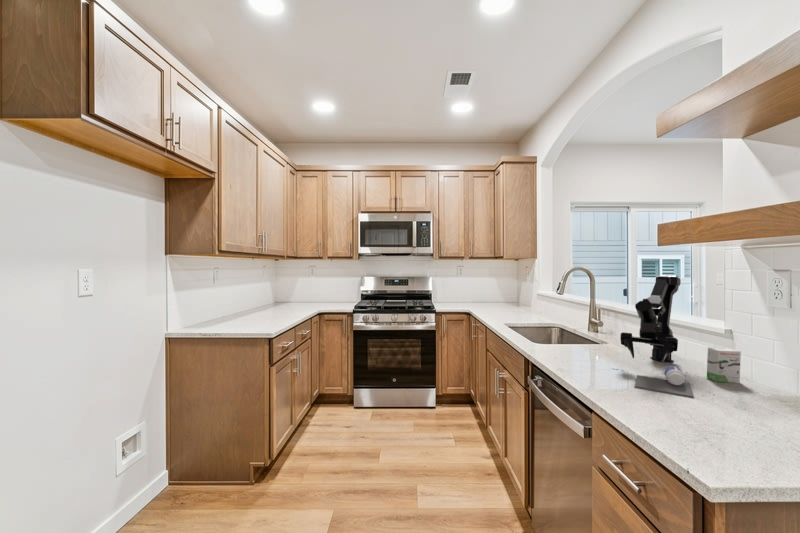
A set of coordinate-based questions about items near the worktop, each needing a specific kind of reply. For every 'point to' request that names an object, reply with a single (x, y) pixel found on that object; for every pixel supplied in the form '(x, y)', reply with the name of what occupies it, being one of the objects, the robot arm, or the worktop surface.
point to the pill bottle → (674, 375)
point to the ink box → (723, 364)
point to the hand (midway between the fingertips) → (647, 359)
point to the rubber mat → (663, 386)
